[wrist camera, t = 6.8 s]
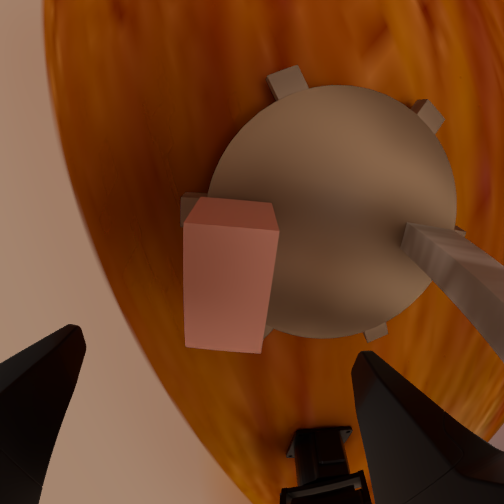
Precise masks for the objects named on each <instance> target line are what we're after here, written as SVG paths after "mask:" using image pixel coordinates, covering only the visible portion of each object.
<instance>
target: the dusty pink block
mask: <svg viewBox="0 0 504 504" xmlns="http://www.w3.org/2000/svg"><path fill="white" fill-rule="evenodd" d="M278 238H279V227H278V224H277V220H276V216H275V213H274V209H273V206H272V203H267V202H257V201H246V200H235V199H223V198H211V197H200V198H199V200H198V201H197V203H196V204H195V206H194V207H193V209H192V210H191V212H190V213H189V215H188V217H187V218H186V220H185V221H184V226H183V291H184V326H185V347H191V348H200V349H210V350H221V351H232V352H246V353H261V349H262V343H263V337H264V330H265V324H266V318H267V312H268V305H269V299H270V292H271V286H272V279H273V273H274V266H275V259H276V252H277V245H278Z"/></svg>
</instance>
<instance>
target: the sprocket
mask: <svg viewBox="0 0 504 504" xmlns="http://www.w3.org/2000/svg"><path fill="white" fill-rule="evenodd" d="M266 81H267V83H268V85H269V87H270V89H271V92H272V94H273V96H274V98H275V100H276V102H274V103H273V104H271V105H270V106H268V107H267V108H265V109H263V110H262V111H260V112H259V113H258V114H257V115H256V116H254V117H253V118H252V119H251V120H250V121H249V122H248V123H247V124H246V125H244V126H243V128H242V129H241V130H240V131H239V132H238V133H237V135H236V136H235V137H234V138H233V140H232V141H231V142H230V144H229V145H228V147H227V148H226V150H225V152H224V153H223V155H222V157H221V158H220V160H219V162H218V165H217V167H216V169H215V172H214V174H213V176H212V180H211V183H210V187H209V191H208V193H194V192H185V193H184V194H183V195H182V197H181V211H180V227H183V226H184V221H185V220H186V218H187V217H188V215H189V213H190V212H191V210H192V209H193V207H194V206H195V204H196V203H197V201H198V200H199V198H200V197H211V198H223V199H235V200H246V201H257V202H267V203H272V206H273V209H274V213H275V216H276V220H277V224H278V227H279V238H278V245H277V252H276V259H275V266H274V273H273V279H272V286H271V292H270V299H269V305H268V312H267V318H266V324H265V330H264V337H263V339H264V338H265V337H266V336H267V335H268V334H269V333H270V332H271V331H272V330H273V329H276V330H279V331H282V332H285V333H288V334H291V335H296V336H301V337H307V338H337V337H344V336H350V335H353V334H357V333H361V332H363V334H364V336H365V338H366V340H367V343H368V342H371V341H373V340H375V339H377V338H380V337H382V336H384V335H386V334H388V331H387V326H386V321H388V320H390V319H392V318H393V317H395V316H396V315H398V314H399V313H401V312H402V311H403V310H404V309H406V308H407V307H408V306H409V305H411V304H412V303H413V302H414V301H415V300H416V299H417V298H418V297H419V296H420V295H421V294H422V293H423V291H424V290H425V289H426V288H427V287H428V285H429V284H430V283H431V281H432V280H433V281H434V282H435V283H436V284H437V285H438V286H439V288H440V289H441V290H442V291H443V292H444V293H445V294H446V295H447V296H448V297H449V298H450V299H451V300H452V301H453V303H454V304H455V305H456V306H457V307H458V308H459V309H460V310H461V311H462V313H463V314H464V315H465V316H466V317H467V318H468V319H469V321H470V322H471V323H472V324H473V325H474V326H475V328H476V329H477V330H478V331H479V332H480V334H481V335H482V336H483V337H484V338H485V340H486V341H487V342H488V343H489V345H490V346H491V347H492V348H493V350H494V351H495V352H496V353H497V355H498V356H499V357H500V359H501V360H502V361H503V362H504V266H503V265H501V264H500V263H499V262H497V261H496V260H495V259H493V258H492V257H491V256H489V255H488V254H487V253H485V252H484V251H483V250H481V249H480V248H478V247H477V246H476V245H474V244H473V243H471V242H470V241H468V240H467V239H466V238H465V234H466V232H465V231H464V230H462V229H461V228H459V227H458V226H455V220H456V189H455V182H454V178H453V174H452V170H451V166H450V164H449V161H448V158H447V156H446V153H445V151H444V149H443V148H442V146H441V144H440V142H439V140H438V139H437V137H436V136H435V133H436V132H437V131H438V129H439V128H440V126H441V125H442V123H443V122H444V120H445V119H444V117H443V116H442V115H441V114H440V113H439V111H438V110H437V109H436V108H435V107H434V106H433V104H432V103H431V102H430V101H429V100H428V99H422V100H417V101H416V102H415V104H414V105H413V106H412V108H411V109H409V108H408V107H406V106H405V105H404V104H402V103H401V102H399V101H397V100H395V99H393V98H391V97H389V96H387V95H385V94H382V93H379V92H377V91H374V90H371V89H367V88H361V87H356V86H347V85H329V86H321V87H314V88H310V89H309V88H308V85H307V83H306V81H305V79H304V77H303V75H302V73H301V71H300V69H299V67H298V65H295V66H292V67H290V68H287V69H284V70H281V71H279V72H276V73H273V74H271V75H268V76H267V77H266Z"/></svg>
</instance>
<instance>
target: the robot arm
mask: <svg viewBox="0 0 504 504" xmlns="http://www.w3.org/2000/svg"><path fill="white" fill-rule="evenodd" d="M85 352H86V343H85V340H84V336H83V333H82V330H81V328H80V327H79V326H77V325H73V324H68V325H66V326H64V327H63V328H61V329H59V330H57V331H56V332H54V333H52V334H50V335H49V336H47V337H45V338H43V339H41V340H40V341H38V342H36V343H34V344H33V345H31V346H29V347H28V348H26V349H24V350H22V351H21V352H19V353H17V354H15V355H14V356H12V357H10V358H9V359H7V360H5V361H4V362H2V363H0V504H39V500H40V496H41V491H42V486H43V483H44V479H45V475H46V472H47V468H48V465H49V461H50V458H51V454H52V451H53V448H54V445H55V442H56V439H57V436H58V433H59V430H60V427H61V424H62V421H63V419H64V416H65V413H66V410H67V408H68V405H69V402H70V400H71V397H72V394H73V392H74V389H75V386H76V383H77V380H78V376H79V372H80V369H81V365H82V362H83V359H84V356H85ZM351 376H352V383H353V391H354V399H355V407H356V414H357V419H358V423H359V427H360V432H361V436H362V440H363V445H364V449H365V454H366V459H367V463H368V468H369V473H370V478H371V483H372V488H373V494H374V499H375V504H504V452H503V451H501V450H499V449H497V448H495V447H493V446H492V445H490V444H489V443H488V442H486V441H485V440H483V439H482V438H480V437H479V436H477V435H476V434H474V433H473V432H471V431H470V430H468V429H467V428H466V427H464V426H463V425H461V424H460V423H459V422H458V421H456V420H455V419H454V418H453V417H451V416H450V415H449V414H448V413H447V412H445V411H444V410H443V409H442V408H440V407H439V406H438V405H437V404H436V403H434V402H433V401H432V400H431V399H430V398H428V397H427V396H426V395H425V394H424V393H422V392H421V391H420V390H419V389H418V388H416V387H415V386H414V385H413V384H412V383H410V382H409V381H408V380H407V379H406V378H404V377H403V376H402V375H401V374H400V373H398V372H397V371H396V370H395V369H393V368H392V367H391V366H390V365H389V364H387V363H386V362H385V361H384V360H383V359H381V358H380V357H379V356H378V355H377V354H375V353H374V352H373V351H361V352H360V353H359V354H358V356H357V358H356V361H355V363H354V365H353V368H352V372H351ZM352 431H353V430H352V427H342V428H330V429H313V430H298V431H296V432H295V434H294V437H293V439H292V441H291V444H290V446H289V448H288V450H287V453H286V457H287V458H295V465H296V474H297V483H298V487H292V488H282V491H281V493H280V504H372V503H371V499H370V495H369V491H368V487H367V483H366V479H365V475H364V472H363V470H360V471H358V472H356V473H353V474H350V469H349V465H348V460H347V456H346V452H345V447H344V443H345V441H346V440H347V439H348V437H349V436H350V434H351V433H352ZM359 487H361V489H359V490H355V488H359Z"/></svg>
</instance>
